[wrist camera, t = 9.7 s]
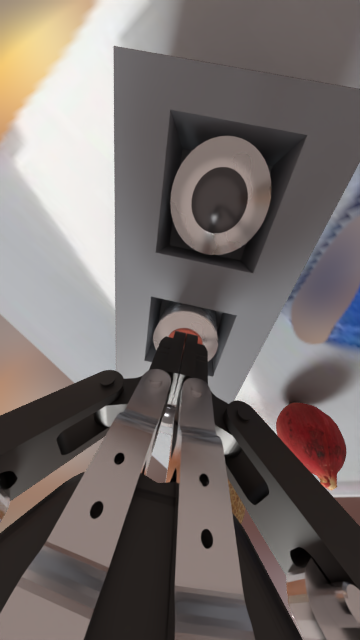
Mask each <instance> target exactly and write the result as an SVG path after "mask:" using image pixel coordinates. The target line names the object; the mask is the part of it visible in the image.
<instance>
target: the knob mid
mask: <svg viewBox="0 0 360 640" xmlns="http://www.w3.org/2000/svg"><path fill="white" fill-rule="evenodd" d="M175 331H179V332H184V333H186V336H187V333H188V334H193V335H197V336H198V344H202V345H205V347H206V349H207V351H208V361H209V360H211V359H212V357H213V356H214V355H215V353H216V351H217V348H218V337H217V326H216V315H215V310H210V309H206V308H201V307H197V306H192V305H188V304H183V303H179V302H174V301H170V302H169V303H168V305H167V307H166V309H165V311H164V313H163V315H162V317H161V319H160V321H159V323H158V325H157V327H156V329H155V331H154V335H153V343H154V346H155V349H156V351H157V348H158V346H159V343H160V341H161V340H162V339H163V338H164V337H165V336H167V337H171V338H173V337H174V334H175ZM185 340H186V337H185ZM184 344H185V342H184ZM183 348H184V347H183Z"/></svg>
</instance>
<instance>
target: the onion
mask: <svg viewBox="0 0 360 640" xmlns="http://www.w3.org/2000/svg"><path fill="white" fill-rule="evenodd" d="M276 429H277V435H278V437H279V438H280V439H281V440H282V441H283V442H284V444H285V445H286V446H287V447H288V448H289V449H290V450H291V451H292V452H293V453H294V455H295V456H296V457H297V458H298V459H299V460H300V461H301V462H302V463H303V464H304V466H305V467H306V468H307V469H308V470H309V471H310V472H311V473H312V474H315V475H317V476H318V478H319V479H320V480H321V481H320V483H321V484H322V485H323V486H324V487H326V488H327V489H329V490H333V489H335V488H336V487H337V473H338V471H339V470H340V469H341V468H342V466H343V464H344V461H345V458H346V445H345V442H344V439H343V436H342V434H341V432H340V430H339V428H338V426H337V424H336V423H335V422H334V421H333V420H332V419H331V417H329V416H328V415H327V414H325V413H324V412H322V411H321V410H319V409H318V408H317V407H314V406H312V405H309V404H305V403H290V404H289V405H288V406H286V407H285V408H284V409H283V410H282V411H281V413H280V414H279V416H278V418H277V422H276Z"/></svg>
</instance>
